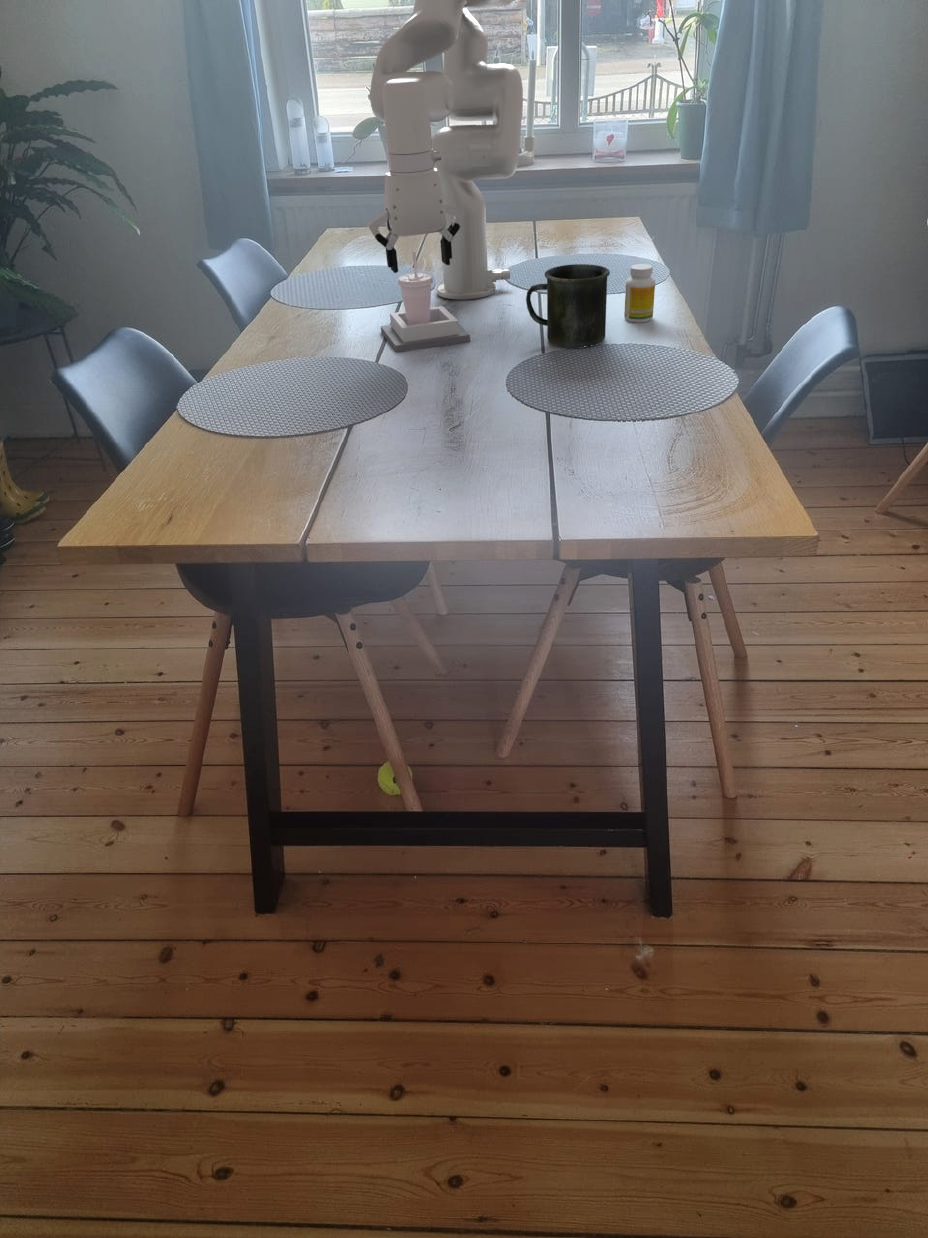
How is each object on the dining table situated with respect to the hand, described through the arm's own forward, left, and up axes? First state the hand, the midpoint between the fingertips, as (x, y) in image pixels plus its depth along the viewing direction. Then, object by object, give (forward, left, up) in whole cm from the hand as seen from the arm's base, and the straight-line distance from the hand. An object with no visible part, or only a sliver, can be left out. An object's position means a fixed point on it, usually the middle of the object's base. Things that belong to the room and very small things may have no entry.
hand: (420, 267), depth 163 cm
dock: (0, +1, -12) cm, 12 cm away
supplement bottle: (-40, +9, -13) cm, 43 cm away
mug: (-23, +15, -13) cm, 30 cm away
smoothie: (+1, 0, -11) cm, 12 cm away
